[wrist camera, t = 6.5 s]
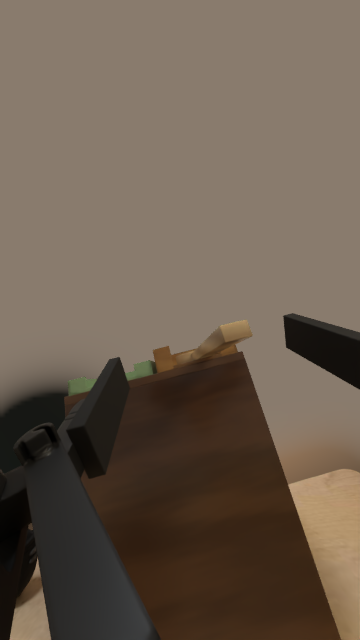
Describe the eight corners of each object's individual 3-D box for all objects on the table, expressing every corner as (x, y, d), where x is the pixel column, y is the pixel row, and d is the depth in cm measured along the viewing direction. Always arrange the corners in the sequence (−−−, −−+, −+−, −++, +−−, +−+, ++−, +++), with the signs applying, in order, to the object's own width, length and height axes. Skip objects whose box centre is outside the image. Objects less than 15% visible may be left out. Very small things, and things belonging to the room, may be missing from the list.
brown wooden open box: (166, 373, 35) (163, 357, 36) (220, 359, 35) (215, 343, 36) (157, 373, 23) (152, 349, 24) (237, 352, 24) (230, 330, 25)
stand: (131, 598, 26) (104, 389, 34) (283, 551, 27) (223, 358, 35) (90, 772, 15) (64, 397, 23) (355, 680, 16) (242, 351, 24)
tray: (107, 388, 34) (106, 378, 35) (163, 373, 35) (161, 364, 35) (68, 396, 23) (67, 381, 23) (152, 374, 23) (150, 360, 24)
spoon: (282, 328, 13) (274, 307, 13) (192, 350, 12) (186, 327, 12) (210, 359, 34) (208, 350, 35) (176, 367, 33) (174, 359, 34)
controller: (24, 612, 28) (23, 531, 31) (-50, 628, 29) (-45, 547, 31) (46, 581, 32) (44, 512, 35) (-19, 596, 33) (-17, 526, 36)
